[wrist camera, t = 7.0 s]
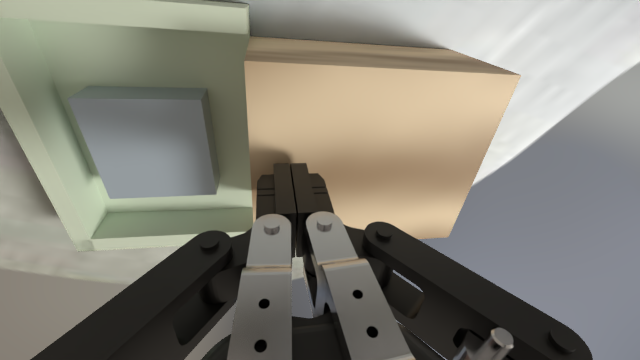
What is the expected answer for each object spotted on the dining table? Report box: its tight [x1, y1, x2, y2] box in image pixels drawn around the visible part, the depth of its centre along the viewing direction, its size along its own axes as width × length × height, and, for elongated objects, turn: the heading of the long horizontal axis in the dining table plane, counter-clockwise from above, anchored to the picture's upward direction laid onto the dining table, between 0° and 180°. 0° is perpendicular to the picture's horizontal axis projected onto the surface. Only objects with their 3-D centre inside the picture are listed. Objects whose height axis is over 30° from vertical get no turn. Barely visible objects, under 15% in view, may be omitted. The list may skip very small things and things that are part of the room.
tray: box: [0, 0, 253, 252], centre depth 17 cm, size 14×11×3 cm
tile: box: [67, 86, 220, 199], centre depth 17 cm, size 6×6×2 cm
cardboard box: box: [244, 36, 521, 239], centre depth 17 cm, size 10×12×6 cm
